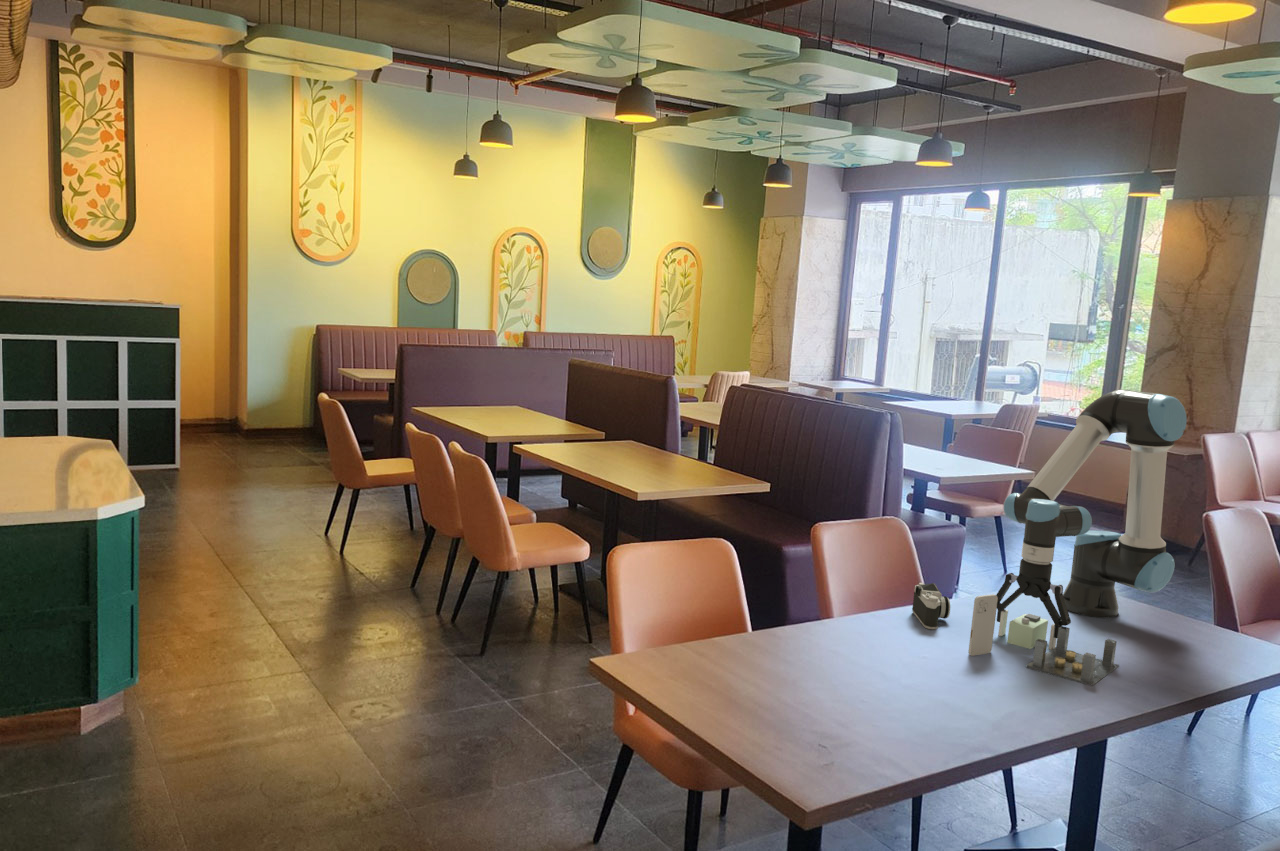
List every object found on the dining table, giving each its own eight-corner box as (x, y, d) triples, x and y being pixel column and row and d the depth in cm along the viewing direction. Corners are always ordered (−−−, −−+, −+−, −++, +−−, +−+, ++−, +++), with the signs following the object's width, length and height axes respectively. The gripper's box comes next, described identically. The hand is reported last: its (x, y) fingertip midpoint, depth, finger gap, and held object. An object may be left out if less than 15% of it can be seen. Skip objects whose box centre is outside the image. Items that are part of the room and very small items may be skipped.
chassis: (1055, 651, 246) (1058, 624, 245) (1118, 669, 236) (1122, 641, 235) (1026, 669, 232) (1029, 640, 231) (1091, 689, 222) (1096, 659, 221)
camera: (955, 631, 257) (960, 594, 256) (922, 629, 257) (927, 592, 256) (939, 612, 273) (943, 577, 271) (908, 609, 273) (912, 574, 272)
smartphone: (989, 652, 243) (996, 593, 241) (992, 653, 242) (999, 595, 240) (967, 655, 239) (974, 596, 237) (971, 657, 238) (978, 597, 236)
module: (1022, 635, 257) (1025, 610, 256) (1045, 642, 253) (1048, 616, 252) (1006, 644, 250) (1010, 617, 249) (1030, 651, 246) (1033, 624, 245)
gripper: (984, 551, 254) (974, 631, 257) (1081, 574, 238) (1069, 659, 241) (995, 547, 260) (986, 625, 262) (1091, 569, 243) (1080, 652, 246)
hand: (1026, 642), depth 252 cm, fingers open, 12 cm apart
